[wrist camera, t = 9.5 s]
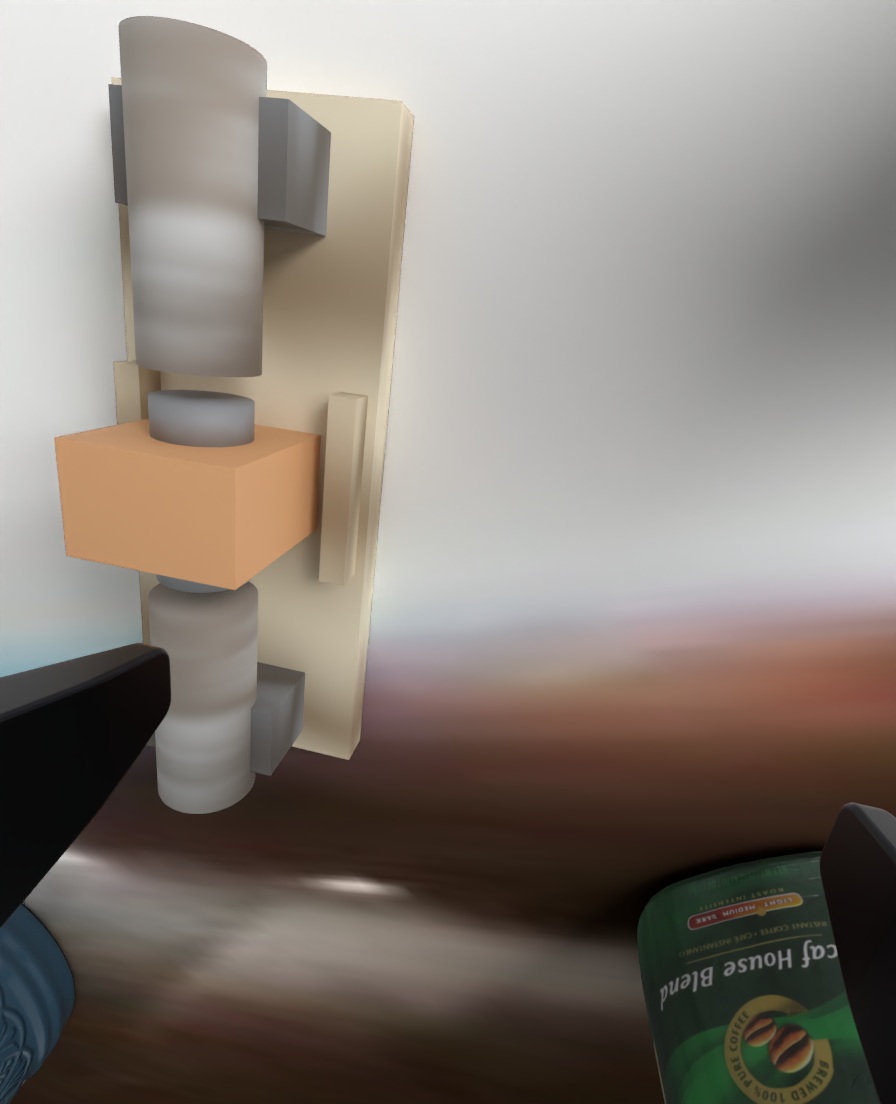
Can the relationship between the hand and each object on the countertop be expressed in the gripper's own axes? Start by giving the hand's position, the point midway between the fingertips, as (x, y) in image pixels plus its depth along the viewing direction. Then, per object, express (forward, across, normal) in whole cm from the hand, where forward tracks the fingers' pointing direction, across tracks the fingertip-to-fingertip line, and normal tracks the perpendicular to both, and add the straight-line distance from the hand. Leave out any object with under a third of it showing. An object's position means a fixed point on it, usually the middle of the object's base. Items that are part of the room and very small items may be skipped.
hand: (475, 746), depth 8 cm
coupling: (+11, +9, 0) cm, 14 cm away
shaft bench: (+12, +9, 0) cm, 15 cm away
